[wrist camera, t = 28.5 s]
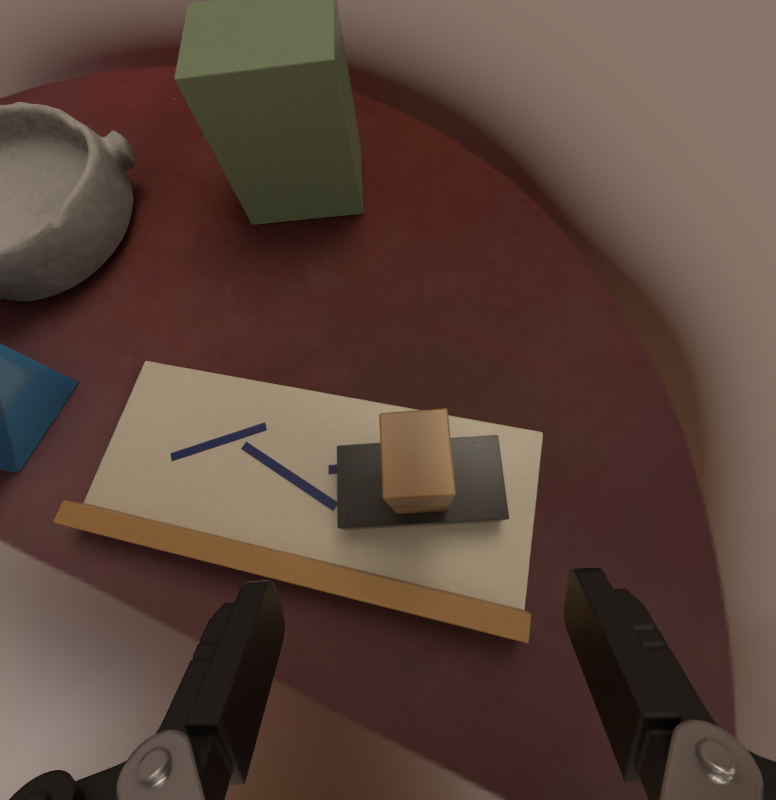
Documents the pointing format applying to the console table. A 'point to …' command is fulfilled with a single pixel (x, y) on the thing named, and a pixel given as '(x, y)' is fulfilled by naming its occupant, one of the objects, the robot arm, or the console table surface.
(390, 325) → the console table surface
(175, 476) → the board
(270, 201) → the block
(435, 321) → the console table surface
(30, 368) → the perfume bottle
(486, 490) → the eraser
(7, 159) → the dish
